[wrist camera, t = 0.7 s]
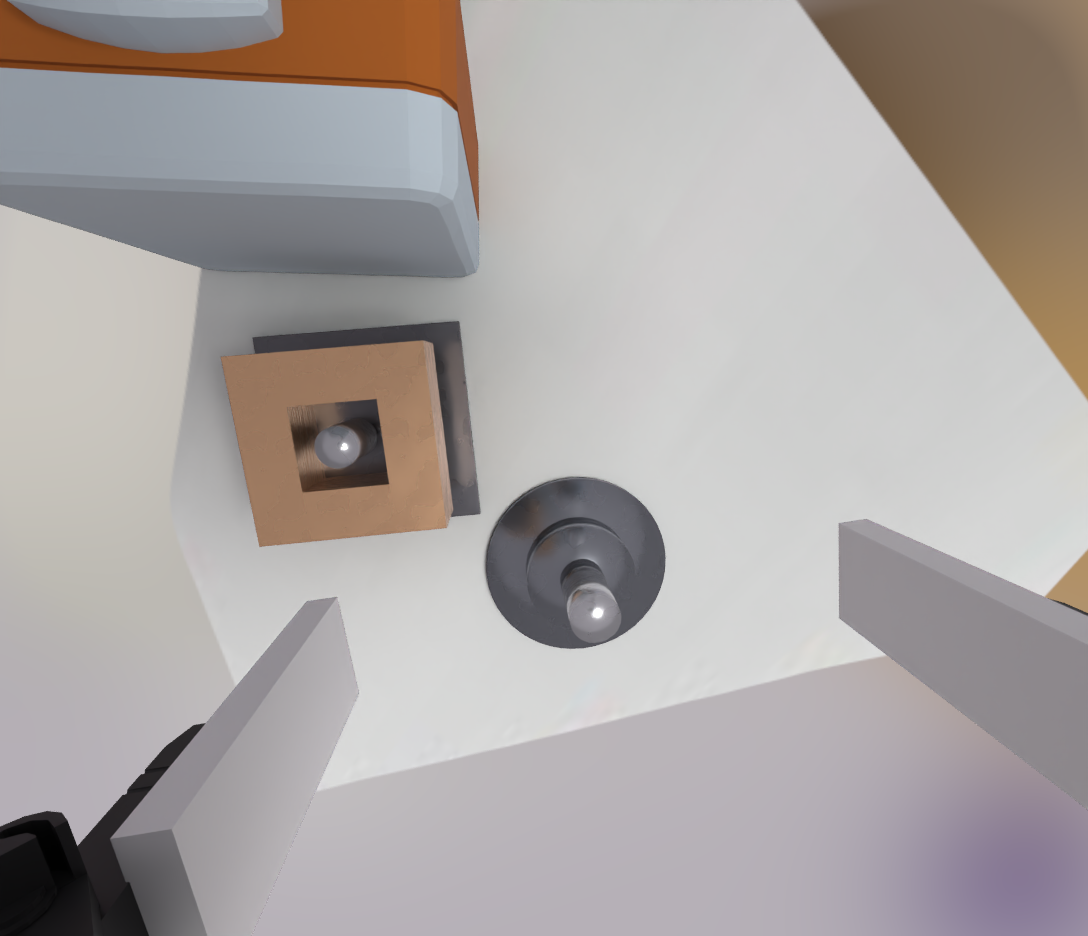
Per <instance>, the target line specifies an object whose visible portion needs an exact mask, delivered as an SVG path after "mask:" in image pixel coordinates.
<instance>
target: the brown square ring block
mask: <svg viewBox="0 0 1088 936" xmlns="http://www.w3.org/2000/svg"><path fill="white" fill-rule="evenodd" d="M221 361H222V365H223V370H224V375H225V380H226V385H227V390H228V395H229V400H230V405H231V410H232V414H233V419H234V424H235V429H236V434H237V439H238V444H239V449H240V454H241V458H242V463H243V468H244V473H245V478H246V483H247V488H248V493H249V498H250V503H251V507H252V512H253V517H254V522H255V527H256V532H257V537H258V542H259V547H262V546H272V545H282V544H292V543H302V542H312V541H321V540H331V539H341V538H351V537H361V536H371V535H381V534H391V533H401V532H411V531H421V530H431V529H441V528H447V526H448V523H449V520H450V517H451V514H452V512H453V504H452V495H451V487H450V479H449V471H448V463H447V455H446V446H445V438H444V430H443V422H442V414H441V405H440V397H439V389H438V381H437V373H436V365H435V356H434V348H433V343H430V342H427V341H423V340H422V341H410V342H397V343H385V344H373V345H360V346H348V347H336V348H323V349H311V350H299V351H286V352H274V353H261V354H249V355H237V356H224V357H221ZM370 399H377V405H378V411H379V418H380V425H381V432H382V439H383V445H384V452H385V459H386V466H387V472H383V473H372V474H362V475H351V476H340V477H330V478H326V477H325V471H324V465H323V463H322V462H321V461H320V460H319V459H318V457H317V455H316V453H315V448H314V444H315V440H316V437H317V436H318V430H317V424H316V419H315V413H314V407H313V404H324V403H336V402H347V401H359V400H370Z"/></svg>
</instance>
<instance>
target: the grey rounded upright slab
mask: <svg viewBox="0 0 1088 936" xmlns="http://www.w3.org/2000/svg"><path fill="white" fill-rule="evenodd" d="M0 204H1V205H4V206H7V207H10V208H14V209H17V210H20V211H23V212H26V213H29V214H32V215H35V216H38V217H42V218H45V219H48V220H51V221H55V222H58V223H61V224H65V225H68V226H71V227H74V228H77V229H81V230H84V231H87V232H90V233H93V234H96V235H99V236H103V237H106V238H109V239H113V240H115V241H118V242H122V243H125V244H128V245H131V246H134V247H137V248H141V249H144V250H147V251H150V252H153V253H156V254H159V255H162V256H165V257H168V258H172V259H175V260H178V261H181V262H184V263H188V264H191V265H194V266H198V267H201V268H205V269H211V270H223V271H255V272H292V273H330V274H366V275H400V276H438V277H464V276H467V275H470V274H472V273H475V272H476V270H477V268H478V265H479V223H478V221H479V187H478V140H477V133H476V125H475V117H474V109H473V101H472V92H471V84H470V76H469V68H468V61H467V53H466V45H465V37H464V30H463V22H462V14H461V6H460V0H0Z"/></svg>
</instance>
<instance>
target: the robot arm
mask: <svg viewBox="0 0 1088 936" xmlns="http://www.w3.org/2000/svg"><path fill="white" fill-rule="evenodd" d="M839 618H840V619H841V620H842V621H844V622H845V623H846V624H847V625H849V626H850V627H851V628H853V629H854V630H855V631H856V632H858V633H859V634H860V635H862V636H863V637H864V638H866V639H867V640H868V641H869V642H871V643H872V644H873V645H875V646H876V647H877V648H878V649H880V650H881V651H882V652H884V653H885V654H886V655H888V656H889V657H890V658H891V659H893V660H894V661H895V662H897V663H898V664H899V665H900V666H902V667H903V668H905V669H906V670H907V671H908V672H910V673H911V674H912V675H913V676H915V677H916V678H917V679H919V680H920V681H921V682H923V683H924V684H925V685H927V686H928V687H929V688H930V689H932V690H933V691H934V692H936V693H937V694H938V695H939V696H941V697H942V698H943V699H945V700H946V701H947V702H948V703H950V704H951V705H952V706H954V707H955V708H956V709H957V710H959V711H960V712H961V713H963V714H964V715H965V716H967V717H968V718H969V719H970V720H972V721H973V722H974V723H976V724H977V725H978V726H980V727H981V728H982V729H983V730H985V731H986V732H988V733H989V734H990V735H991V736H993V737H994V738H995V739H996V740H998V741H999V742H1000V743H1001V744H1003V745H1004V746H1006V747H1007V748H1008V749H1009V750H1011V751H1012V752H1013V753H1014V754H1016V755H1017V756H1018V757H1020V758H1021V759H1022V760H1024V761H1025V762H1026V763H1027V764H1029V765H1030V766H1031V767H1033V768H1034V769H1035V770H1036V771H1038V772H1039V773H1040V774H1042V775H1043V776H1044V777H1046V778H1047V779H1048V780H1049V781H1051V782H1052V783H1054V784H1055V785H1056V786H1057V787H1058V788H1060V789H1061V790H1062V791H1064V792H1065V793H1066V794H1068V795H1069V796H1070V797H1071V798H1073V799H1074V800H1075V801H1077V802H1078V803H1079V804H1081V805H1082V806H1083V807H1084V808H1086V809H1087V810H1088V613H1086V612H1083V611H1081V610H1079V609H1077V608H1074V607H1072V606H1070V605H1068V604H1065V603H1062V602H1059V601H1055V600H1051V599H1048V598H1045V597H1043V596H1041V595H1039V594H1036V593H1034V592H1032V591H1029V590H1027V589H1025V588H1023V587H1020V586H1018V585H1016V584H1013V583H1011V582H1009V581H1007V580H1004V579H1002V578H1000V577H998V576H995V575H993V574H991V573H988V572H986V571H984V570H982V569H979V568H977V567H975V566H972V565H970V564H968V563H966V562H963V561H961V560H959V559H956V558H954V557H952V556H950V555H947V554H945V553H943V552H941V551H938V550H936V549H934V548H931V547H929V546H927V545H925V544H922V543H920V542H918V541H915V540H913V539H911V538H909V537H906V536H904V535H902V534H900V533H897V532H895V531H893V530H890V529H888V528H886V527H884V526H881V525H879V524H877V523H874V522H872V521H870V520H868V519H863V520H857V521H850V522H843V523H839ZM358 694H359V690H358V686H357V681H356V677H355V672H354V668H353V664H352V659H351V655H350V650H349V646H348V642H347V637H346V633H345V628H344V624H343V620H342V615H341V611H340V606H339V602H338V598H337V597H334V598H327V599H320V600H313V601H307V602H306V603H305V604H304V605H303V607H302V608H301V609H300V610H299V611H298V613H297V614H296V615H295V616H294V617H293V619H292V620H291V621H290V622H289V623H288V625H287V626H286V627H285V628H284V629H283V631H282V632H281V633H280V634H279V636H278V637H277V638H276V639H275V640H274V642H273V643H272V644H271V645H270V646H269V648H268V649H267V650H266V651H265V652H264V654H263V655H262V656H261V657H260V658H259V660H258V661H257V662H256V663H255V665H254V666H253V667H252V668H251V669H250V671H249V672H248V673H247V674H246V675H245V677H244V678H243V679H242V680H241V681H240V683H239V684H238V685H237V686H236V687H235V689H234V690H233V691H232V692H231V694H230V695H229V696H228V697H227V698H226V700H225V701H224V702H223V703H222V704H221V706H220V707H219V708H218V709H217V711H216V712H215V713H214V714H213V715H212V717H211V718H210V719H209V720H208V721H207V723H204V724H198V725H193V726H192V727H191V728H190V729H188V730H187V731H185V732H184V733H183V734H181V735H180V736H179V737H177V738H176V739H175V740H173V741H172V742H171V743H169V744H168V745H167V746H166V747H165V748H164V749H163V750H162V751H161V752H160V753H159V755H158V756H157V757H156V758H155V759H154V760H153V761H152V762H151V764H150V765H149V766H148V767H147V768H146V769H145V774H141V775H140V776H139V777H138V778H137V779H136V781H135V782H134V783H133V784H132V785H131V786H130V787H129V789H128V790H127V794H126V795H122V796H121V798H120V799H119V800H118V801H117V802H116V803H115V804H114V805H113V807H112V808H111V809H110V810H109V811H108V812H107V813H106V815H105V816H104V817H103V818H102V819H101V820H100V821H99V822H98V824H97V825H96V826H95V827H94V828H93V829H92V830H91V832H90V833H89V834H88V835H87V836H86V837H85V838H84V839H83V841H82V842H81V843H80V844H79V845H78V846H77V844H76V842H75V839H74V836H73V834H72V831H71V829H70V826H69V824H68V821H67V819H66V818H65V817H64V815H63V814H62V813H59V812H50V811H46V812H42V813H37V814H33V815H29V816H24V817H22V818H20V819H17V820H15V821H12V822H10V823H8V824H5V825H3V826H1V827H0V936H252V934H253V932H254V930H255V927H256V925H257V923H258V921H259V918H260V916H261V914H262V911H263V909H264V907H265V905H266V903H267V900H268V898H269V896H270V893H271V891H272V889H273V887H274V884H275V882H276V880H277V878H278V875H279V873H280V871H281V869H282V866H283V864H284V862H285V860H286V857H287V855H288V853H289V851H290V848H291V846H292V844H293V841H294V839H295V837H296V835H297V832H298V830H299V828H300V826H301V823H302V821H303V819H304V816H305V814H306V812H307V810H308V808H309V805H310V803H311V800H312V798H313V796H314V794H315V792H316V789H317V787H318V785H319V783H320V780H321V778H322V776H323V774H324V771H325V769H326V767H327V765H328V762H329V760H330V758H331V755H332V753H333V751H334V749H335V746H336V744H337V742H338V740H339V737H340V735H341V733H342V731H343V728H344V726H345V724H346V722H347V719H348V717H349V715H350V713H351V710H352V708H353V706H354V703H355V701H356V699H357V697H358Z"/></svg>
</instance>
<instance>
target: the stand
mask: <svg viewBox="0 0 1088 936" xmlns="http://www.w3.org/2000/svg"><path fill="white" fill-rule="evenodd" d="M422 340H423V341H427V342H430V343H433V348H434V356H435V365H436V373H437V381H438V389H439V397H440V405H441V414H442V422H443V430H444V438H445V446H446V455H447V463H448V471H449V479H450V487H451V495H452V504H453V512H452V514H451V517H455V516H465V515H475V514H480V503H479V494H478V485H477V476H476V467H475V458H474V449H473V440H472V431H471V422H470V413H469V404H468V395H467V386H466V377H465V368H464V359H463V350H462V341H461V332H460V323H459V321H457V322H444V323H431V324H419V325H406V326H393V327H381V328H368V329H355V330H343V331H330V332H317V333H305V334H292V335H280V336H267V337H254V338H253V342H254V347H255V353H256V354H261V353H274V352H286V351H299V350H311V349H323V348H336V347H348V346H360V345H373V344H385V343H397V342H410V341H422ZM313 407H314V413H315V419H316V424H317V430H318V436H317V437H316V440H315V444H314V448H315V453H316V455H317V457H318V459H319V460H320V461H321V462H322V463H323V465H324V471H325V477H326V478H330V477H340V476H351V475H362V474H372V473H383V472H387V466H386V459H385V452H384V445H383V439H382V432H381V425H380V418H379V411H378V405H377V399H370V400H359V401H347V402H336V403H324V404H313Z"/></svg>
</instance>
